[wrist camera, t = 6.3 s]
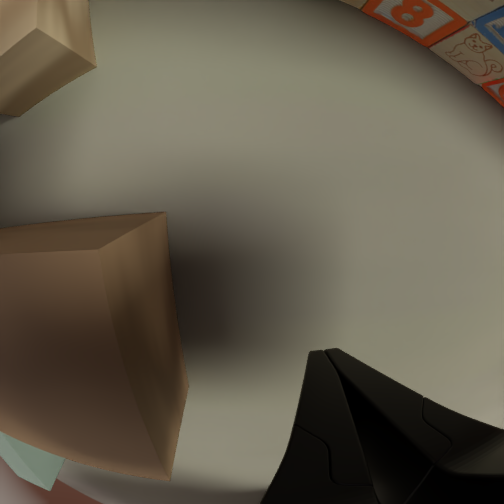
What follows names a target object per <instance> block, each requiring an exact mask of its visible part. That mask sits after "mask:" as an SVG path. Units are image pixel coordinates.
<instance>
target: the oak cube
mask: <svg viewBox="0 0 504 504" xmlns="http://www.w3.org/2000/svg"><path fill="white" fill-rule="evenodd" d="M96 67H97V64H96V58H95V52H94V45H93V38H92V30H91V22H90V12H89V1H88V0H0V114H5V115H11V116H17V117H20V116H21V115H22V114H24V113H25V112H26V111H28V110H29V109H30V108H32V107H33V106H34V105H36V104H37V103H39V102H40V101H42V100H43V99H44V98H46V97H47V96H49V95H50V94H52V93H53V92H55V91H57V90H58V89H60V88H61V87H63V86H65V85H66V84H68V83H69V82H71V81H73V80H74V79H76V78H78V77H80V76H81V75H83V74H85V73H87V72H89V71H90V70H92V69H94V68H96Z"/></svg>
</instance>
